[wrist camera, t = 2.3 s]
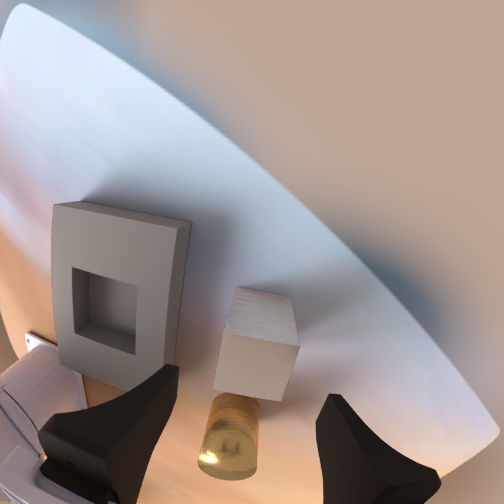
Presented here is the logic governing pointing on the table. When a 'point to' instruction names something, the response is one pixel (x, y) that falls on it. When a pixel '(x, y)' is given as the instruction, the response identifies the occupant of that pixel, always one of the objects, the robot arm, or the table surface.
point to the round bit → (231, 438)
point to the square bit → (257, 346)
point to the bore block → (116, 290)
